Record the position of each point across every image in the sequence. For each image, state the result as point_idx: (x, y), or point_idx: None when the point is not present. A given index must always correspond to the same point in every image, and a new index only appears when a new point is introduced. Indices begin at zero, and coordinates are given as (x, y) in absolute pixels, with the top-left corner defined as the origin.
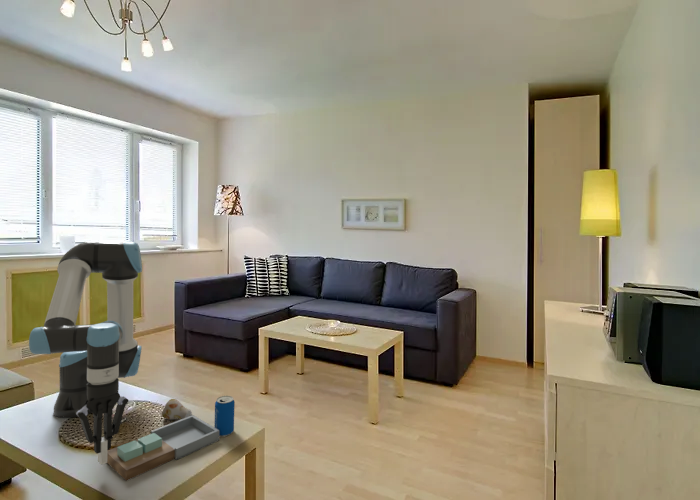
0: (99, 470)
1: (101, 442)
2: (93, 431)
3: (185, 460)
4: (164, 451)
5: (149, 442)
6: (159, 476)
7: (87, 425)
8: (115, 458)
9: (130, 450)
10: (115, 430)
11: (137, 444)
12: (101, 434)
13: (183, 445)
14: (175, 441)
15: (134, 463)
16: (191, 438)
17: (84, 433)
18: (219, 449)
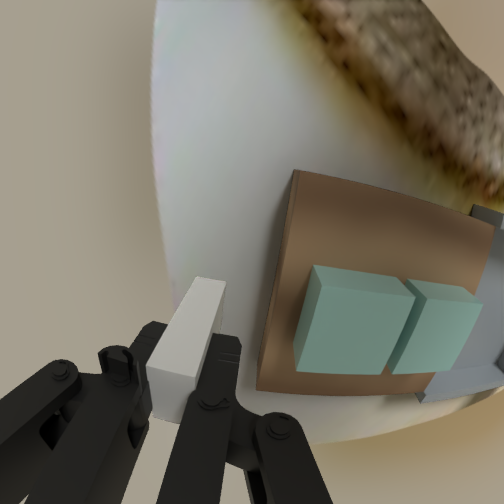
0: (236, 220)
1: (153, 413)
2: (71, 420)
3: None
4: (406, 383)
5: (414, 366)
6: (324, 406)
7: (2, 498)
8: (287, 287)
9: (327, 370)
10: (254, 480)
11: (385, 345)
12: (134, 463)
13: (441, 398)
14: (485, 295)
15: (303, 377)
16: (500, 318)
17: (9, 394)
18: (462, 397)
